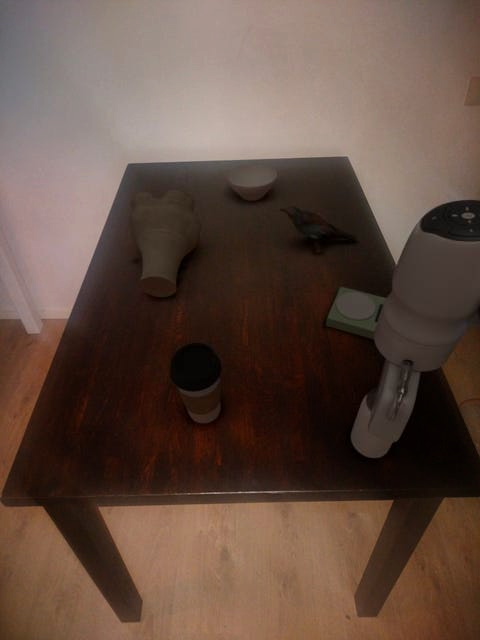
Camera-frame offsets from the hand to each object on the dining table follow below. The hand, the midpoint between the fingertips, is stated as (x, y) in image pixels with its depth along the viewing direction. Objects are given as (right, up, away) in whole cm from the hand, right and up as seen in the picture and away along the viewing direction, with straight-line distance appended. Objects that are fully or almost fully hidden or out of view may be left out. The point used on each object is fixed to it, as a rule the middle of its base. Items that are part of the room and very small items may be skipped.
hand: (386, 396), depth 55 cm
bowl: (-17, +52, +70) cm, 89 cm away
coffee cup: (-28, -6, +16) cm, 33 cm away
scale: (+5, +12, +30) cm, 33 cm away
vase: (-41, +23, +44) cm, 64 cm away
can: (+1, -10, +10) cm, 14 cm away
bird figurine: (0, +32, +50) cm, 59 cm away
